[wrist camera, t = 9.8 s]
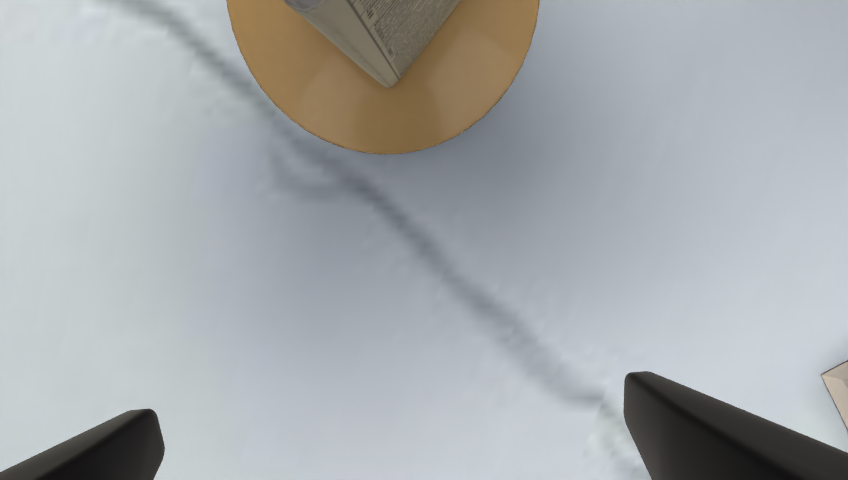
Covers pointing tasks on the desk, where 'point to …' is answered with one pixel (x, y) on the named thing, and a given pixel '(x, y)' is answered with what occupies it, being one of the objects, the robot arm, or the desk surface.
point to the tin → (364, 96)
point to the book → (839, 388)
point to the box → (377, 30)
